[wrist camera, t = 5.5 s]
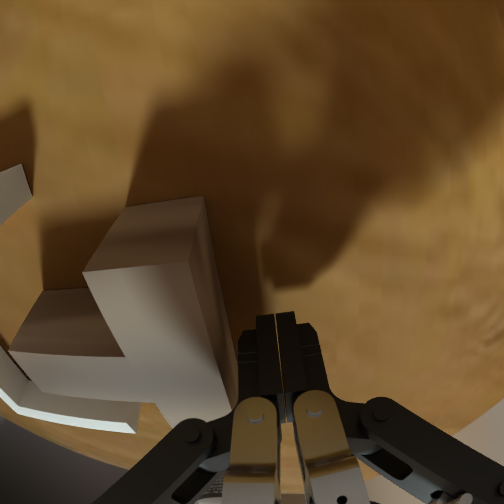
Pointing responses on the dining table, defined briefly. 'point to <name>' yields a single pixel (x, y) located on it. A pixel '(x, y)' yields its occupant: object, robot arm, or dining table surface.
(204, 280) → the t block
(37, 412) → the pocket
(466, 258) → the dining table surface
